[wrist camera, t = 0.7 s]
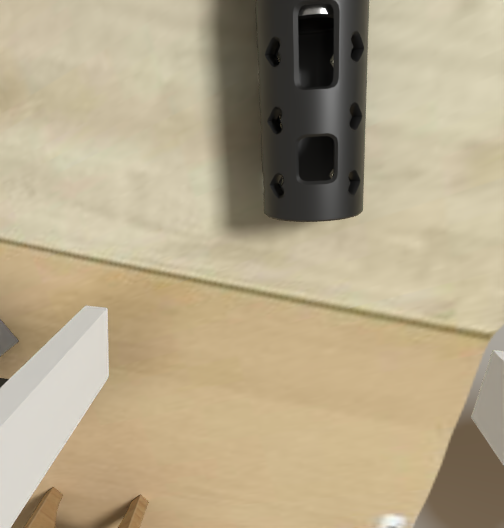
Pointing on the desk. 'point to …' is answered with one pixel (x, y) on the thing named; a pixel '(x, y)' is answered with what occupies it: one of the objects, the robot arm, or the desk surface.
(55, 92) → the desk surface
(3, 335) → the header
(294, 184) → the muzzle brake
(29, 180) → the desk surface
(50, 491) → the planter
